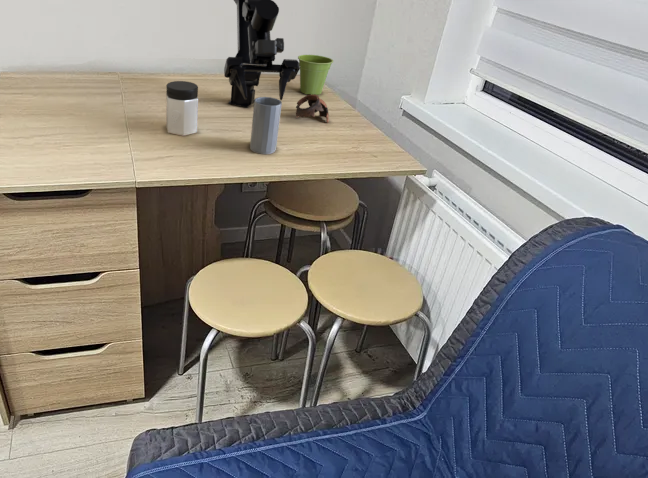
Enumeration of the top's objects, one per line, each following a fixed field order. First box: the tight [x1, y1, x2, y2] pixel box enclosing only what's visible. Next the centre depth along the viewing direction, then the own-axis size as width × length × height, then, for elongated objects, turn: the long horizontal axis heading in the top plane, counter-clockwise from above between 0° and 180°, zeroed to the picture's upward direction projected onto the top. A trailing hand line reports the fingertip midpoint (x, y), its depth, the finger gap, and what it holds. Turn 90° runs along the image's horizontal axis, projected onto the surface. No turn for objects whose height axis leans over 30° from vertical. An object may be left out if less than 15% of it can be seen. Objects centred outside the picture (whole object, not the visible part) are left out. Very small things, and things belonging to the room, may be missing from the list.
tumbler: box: [249, 96, 283, 155], centre depth 130 cm, size 7×7×12 cm
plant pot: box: [297, 54, 334, 96], centre depth 175 cm, size 12×12×11 cm
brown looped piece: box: [295, 94, 330, 123], centre depth 155 cm, size 12×10×8 cm
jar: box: [165, 80, 199, 137], centre depth 137 cm, size 9×8×12 cm
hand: (263, 99), depth 131 cm, fingers open, 9 cm apart
